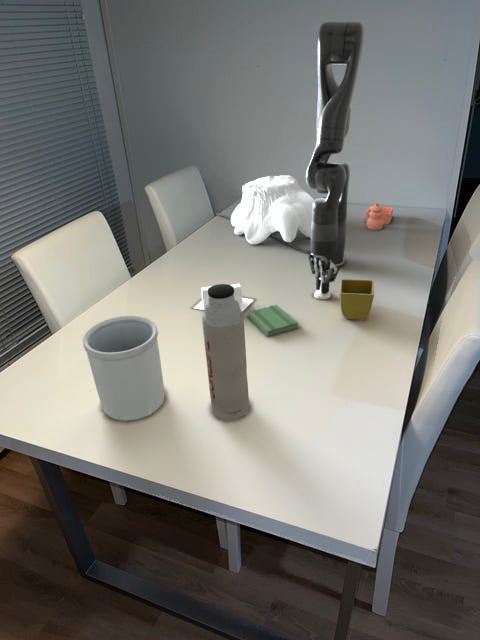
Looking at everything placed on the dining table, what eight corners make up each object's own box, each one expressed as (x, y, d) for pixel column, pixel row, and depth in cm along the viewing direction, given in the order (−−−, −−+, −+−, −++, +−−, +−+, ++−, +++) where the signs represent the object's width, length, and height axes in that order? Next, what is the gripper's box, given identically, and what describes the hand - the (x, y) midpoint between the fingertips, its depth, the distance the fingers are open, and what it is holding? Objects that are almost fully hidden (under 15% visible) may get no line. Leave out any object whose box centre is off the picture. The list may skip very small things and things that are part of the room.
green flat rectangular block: (248, 317, 137) (248, 311, 137) (276, 309, 140) (276, 304, 140) (267, 336, 128) (267, 330, 127) (297, 327, 131) (297, 322, 130)
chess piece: (331, 292, 148) (333, 262, 143) (328, 300, 144) (330, 268, 139) (315, 291, 149) (316, 260, 144) (312, 298, 145) (313, 267, 140)
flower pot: (371, 324, 130) (374, 294, 126) (338, 322, 132) (339, 293, 127) (370, 309, 138) (373, 280, 133) (339, 307, 139) (340, 278, 135)
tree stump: (266, 220, 226) (258, 170, 217) (338, 219, 204) (332, 164, 195) (213, 251, 199) (201, 195, 189) (289, 254, 177) (280, 192, 168)
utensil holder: (170, 416, 102) (159, 345, 93) (98, 429, 100) (79, 358, 91) (165, 376, 115) (154, 311, 106) (100, 387, 112) (84, 321, 104)
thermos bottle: (212, 421, 100) (198, 300, 86) (211, 397, 107) (198, 281, 93) (251, 418, 100) (243, 296, 86) (247, 394, 107) (240, 278, 93)
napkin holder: (192, 308, 144) (190, 291, 141) (210, 292, 153) (209, 275, 150) (238, 316, 138) (237, 298, 135) (254, 299, 147) (253, 282, 144)
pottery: (369, 215, 210) (371, 192, 205) (392, 217, 206) (394, 194, 201) (361, 229, 196) (362, 205, 191) (385, 231, 192) (387, 206, 187)
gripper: (349, 240, 133) (346, 297, 141) (322, 226, 144) (320, 280, 153) (326, 246, 130) (324, 303, 139) (300, 231, 142) (299, 285, 150)
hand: (322, 290), depth 146 cm, fingers closed on chess piece
